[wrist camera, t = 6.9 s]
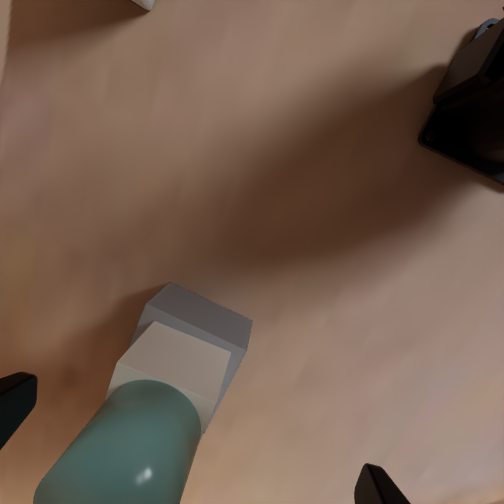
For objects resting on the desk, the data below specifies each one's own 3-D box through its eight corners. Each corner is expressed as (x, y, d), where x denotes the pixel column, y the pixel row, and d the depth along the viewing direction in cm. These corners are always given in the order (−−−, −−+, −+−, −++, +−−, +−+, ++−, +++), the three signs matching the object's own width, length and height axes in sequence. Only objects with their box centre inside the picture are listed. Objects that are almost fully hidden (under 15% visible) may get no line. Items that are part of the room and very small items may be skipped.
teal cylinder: (217, 407, 13) (190, 501, 9) (178, 481, 14) (139, 594, 10) (122, 362, 13) (54, 438, 9) (90, 439, 14) (17, 537, 10)
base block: (252, 319, 21) (246, 350, 17) (217, 389, 22) (204, 433, 18) (171, 281, 21) (146, 303, 17) (140, 354, 22) (110, 390, 18)
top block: (231, 351, 17) (216, 402, 13) (203, 416, 18) (182, 481, 14) (154, 320, 17) (116, 361, 13) (131, 387, 18) (90, 443, 14)
